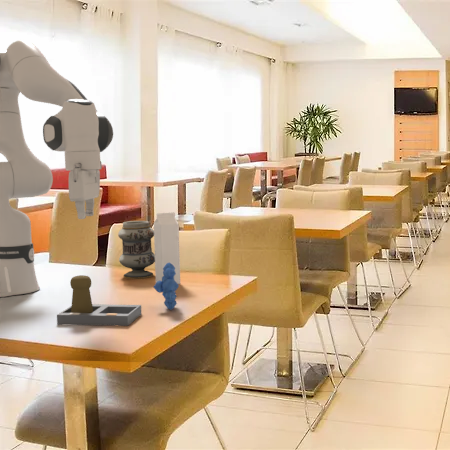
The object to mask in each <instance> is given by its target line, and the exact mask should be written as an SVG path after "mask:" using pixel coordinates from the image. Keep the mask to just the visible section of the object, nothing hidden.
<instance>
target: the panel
mask: <svg viewBox="0 0 450 450" xmlns="http://www.w3.org/2000/svg"><path fill="white" fill-rule="evenodd" d="M71 306H72V305H70V306H69V307H67V308H66V309H64V310H62V311H60V312H59V313H57V314H56V324H57V325H62V324H77V325H76V326H80V325H81V326H115V325H118V326H119V327H120V326H121V327H122V326H123V327H125V326H126V327H128V326H129V325H131V324H132V323H133V322H134V321H135V320H137V319H138V318H139V317H141V315H142V313H143V312H142V304H99V303H97V304H96V303H94V304H93V303H92V306H93V313H71Z"/></svg>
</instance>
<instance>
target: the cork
mask: <svg viewBox="0 0 450 450" xmlns="http://www.w3.org/2000/svg"><path fill="white" fill-rule="evenodd" d="M69 282H70V288H71V289H72V297H71V305H70V306H71V313H93V306H92V304H93V302H92V295H91V291H90V289H91V287H92V280H91V278H90V276H88V275H75V276H73V277H71V279H70V281H69Z"/></svg>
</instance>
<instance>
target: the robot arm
mask: <svg viewBox="0 0 450 450" xmlns="http://www.w3.org/2000/svg"><path fill="white" fill-rule="evenodd" d="M20 93H21V95H23V96H24V97H25V98H26V99H29V100H31V101H33V102H39V103H44V104H45V103H46V104H50V105H56V106H59V107H62V108H61V109H60V110H59V111H58V112H57V113H56V114H54V115H50V116H49V117H48V118H47V119H46V121H45V122H44V124H43V126H42V136H43V142H44V143H45V145H46V146H47V147H48V148H49V149H50V150H51V151H55V152H64V166H65V171H69V173H68V198H69V201H70V202H74V204H75V208H76V209H75V210H76V212H77V220H78V219H79V220H84V219H86V218H87V217H93V216H94V215H95V213H94V212H95V211H94V208H95V198H98V197H99V196H100V192H101V191H100V189H101V188H100V187H101V184H100V183H101V181H100V180H101V172H100V170H102V167H103V165H102V164H103V163H102V161H101V153H102V152H104V151H105V150H106V149H107V148H108V147H109V146H110V144H111V143H112V141H113V138H114V128H113V126H112V123H111V122H110V120H109V119H108V118H107V116H105V115H104V114H102V113H100V112H99V111H98V110H97V108H96V105H95V102H93V101H92V100H89V99H88V98H87V97H86V96H85V95H84V94H83V93H82V92H81V90H79V88H78V87H77V86H76V85H75V84H74V83H73V82H71V81H70V80H68V79H67V78H65V77H64V76H63V75H61V74H60V73H59V72H57V70H55V69H54V68H53V67H52V66H51V64H50V63H49V62H48V59H47V58H46V56H45V55H44V54H43V53H42V52H41V50H40V49H39V48H38V47H37V46H36V45H35V44H33V43H32V42H30V41H29V40H24V39H23V40H22V39H20V40H16V41H13V42H12V43H11V44H9V45H8V47H7V48H6V49H0V154H2V155H3V156H4V158H5V159H6V160H7V161H0V298H4V297H10V296H15V295H17V296H18V295H23V294H30V293H33V292H37V291H39V290H40V286H39V282H38V279H37V275H36V274H37V273H36V270H35V263H34V262H35V249H34V248H35V247H34V243H33V242H32V239H33V238H32V224H31V219H30V217H29V215H27V214H26V213H25V212H23V211H21V210H19V209H16V208H14V207H13V206H11V203H10V200H11V199H23V198H24V199H25V198H26V199H27V198H34V197H39V196H42V195H45V194H46V195H47V194H48V192H49V191H50V189H52V186H53V181H54V177H53V173H52V170H51V167H49V165H48V164H46V163H45V162H43V161H42V160H40V159H39V158H38V157H37V156H36V155H34V153H33V152H32V151H31V149H30V148H29V147H28V146H29V145H28V144H27V142H26V140H25V135H24V131H23V125H22V120H21V119H22V118H21V111H20V106H19V95H20Z"/></svg>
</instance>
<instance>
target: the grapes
mask: <svg viewBox="0 0 450 450" xmlns="http://www.w3.org/2000/svg"><path fill="white" fill-rule="evenodd" d="M163 270H164V271H163V275H164V276H163V277H162V281H157V282H156V281H155V284H154V286H153V289H154V290H155V291H156V292H157V293H159V294H160V293H162V294H161V295H162V296H163V298H164V299H165V300H164V301H163V305H164V306H165V307H166V308H167V309H168V310H173V309H174V308H175V307H176V306H177V304H178V303H177V300H176V299H177V295H176V294H177V293H176V291H177V290H178V288H179V286H180V284H177V283H176V281H175V280H174V276H175V274H176V273H175V271H174V270H175V267H174V266H173V265H172V264H171V263H167V264H166V265H165V266H164V268H163Z"/></svg>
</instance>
